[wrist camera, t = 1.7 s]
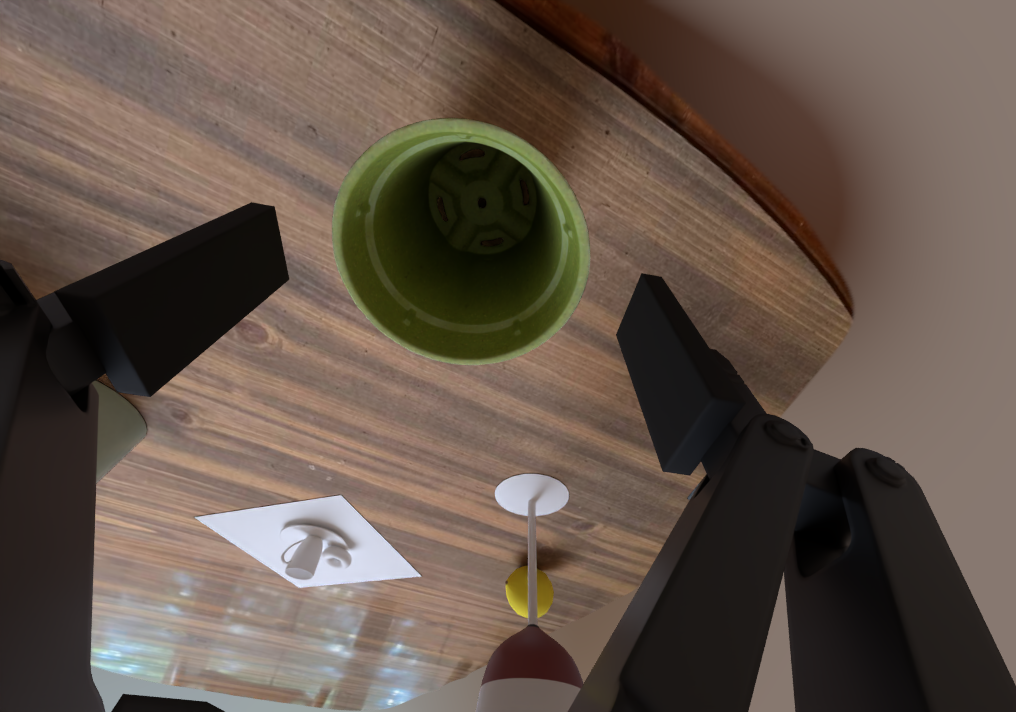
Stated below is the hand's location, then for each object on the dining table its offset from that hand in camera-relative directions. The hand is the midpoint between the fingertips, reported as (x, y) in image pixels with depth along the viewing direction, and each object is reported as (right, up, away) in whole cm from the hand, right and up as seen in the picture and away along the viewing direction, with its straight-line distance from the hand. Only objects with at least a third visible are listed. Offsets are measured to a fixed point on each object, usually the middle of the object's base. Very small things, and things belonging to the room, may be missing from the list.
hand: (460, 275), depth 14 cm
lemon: (+4, -30, +34) cm, 46 cm away
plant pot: (0, +6, +7) cm, 9 cm away
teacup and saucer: (-22, -27, +33) cm, 49 cm away
